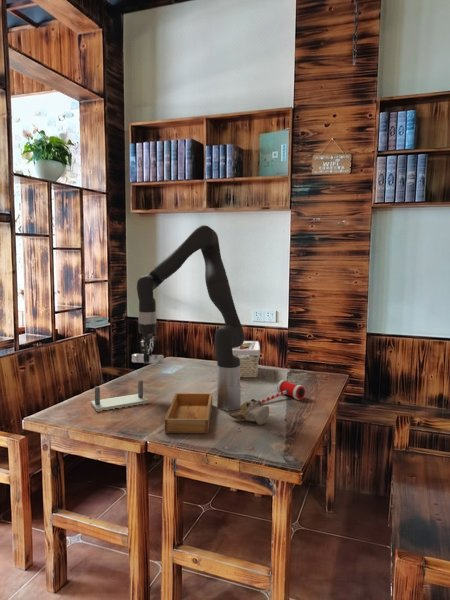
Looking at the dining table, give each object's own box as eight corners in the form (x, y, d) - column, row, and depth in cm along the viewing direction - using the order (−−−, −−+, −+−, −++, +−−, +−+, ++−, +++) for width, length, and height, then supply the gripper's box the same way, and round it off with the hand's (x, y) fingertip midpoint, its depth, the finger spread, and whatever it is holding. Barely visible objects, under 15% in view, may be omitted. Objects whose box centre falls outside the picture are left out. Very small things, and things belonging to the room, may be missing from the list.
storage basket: (229, 366, 251) (229, 340, 249) (259, 367, 250) (259, 340, 248) (227, 378, 227) (227, 349, 225) (259, 379, 226) (260, 349, 224)
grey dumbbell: (164, 361, 198) (164, 355, 198) (162, 364, 194) (161, 357, 194) (133, 360, 200) (133, 353, 200) (130, 362, 196) (130, 355, 196)
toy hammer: (267, 409, 183) (267, 394, 183) (248, 402, 192) (248, 387, 192) (306, 398, 197) (306, 384, 196) (286, 392, 206) (286, 378, 206)
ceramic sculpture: (260, 405, 161) (226, 399, 170) (260, 429, 162) (227, 422, 171) (276, 398, 169) (243, 393, 179) (277, 421, 170) (244, 414, 179)
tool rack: (140, 396, 198) (139, 377, 197) (148, 403, 189) (147, 383, 188) (91, 404, 188) (90, 384, 187) (96, 412, 179) (96, 391, 178)
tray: (175, 405, 188) (175, 391, 188) (212, 405, 188) (212, 392, 188) (164, 435, 158) (164, 419, 157) (208, 435, 158) (208, 419, 157)
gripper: (144, 319, 203) (144, 357, 205) (133, 324, 189) (133, 365, 191) (160, 319, 201) (160, 358, 203) (150, 325, 188) (150, 366, 190)
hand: (147, 361), depth 197 cm, fingers closed on grey dumbbell, 3 cm apart
